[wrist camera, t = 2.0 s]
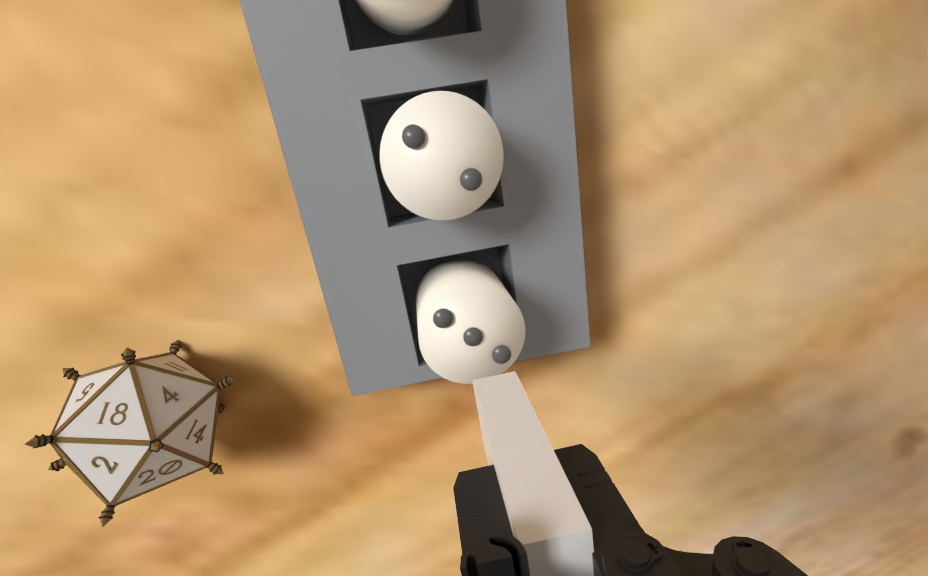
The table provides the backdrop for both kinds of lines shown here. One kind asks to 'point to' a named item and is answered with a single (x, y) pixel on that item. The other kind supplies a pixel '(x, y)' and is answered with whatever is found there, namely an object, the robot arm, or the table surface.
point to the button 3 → (467, 321)
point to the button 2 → (441, 155)
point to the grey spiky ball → (136, 426)
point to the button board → (371, 202)
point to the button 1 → (405, 14)
